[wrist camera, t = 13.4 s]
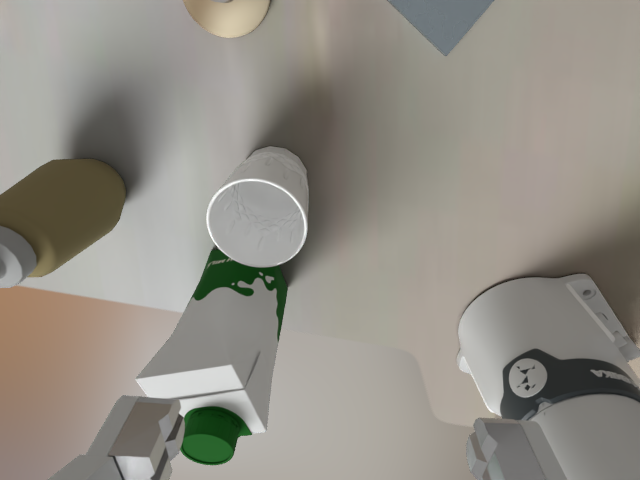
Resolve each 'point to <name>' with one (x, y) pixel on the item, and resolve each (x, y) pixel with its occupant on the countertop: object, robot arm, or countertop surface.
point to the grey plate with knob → (442, 18)
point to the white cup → (262, 209)
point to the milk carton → (222, 357)
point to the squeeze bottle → (56, 216)
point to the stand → (228, 15)
